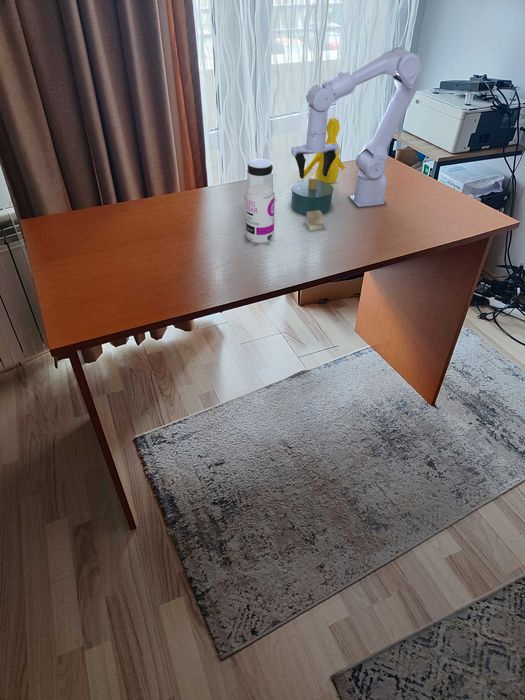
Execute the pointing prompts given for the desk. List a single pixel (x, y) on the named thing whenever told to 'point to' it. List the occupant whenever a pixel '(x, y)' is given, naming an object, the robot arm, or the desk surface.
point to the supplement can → (260, 213)
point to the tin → (310, 204)
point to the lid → (312, 188)
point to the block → (314, 220)
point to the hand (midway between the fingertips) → (313, 176)
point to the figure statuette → (332, 174)
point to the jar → (260, 172)
